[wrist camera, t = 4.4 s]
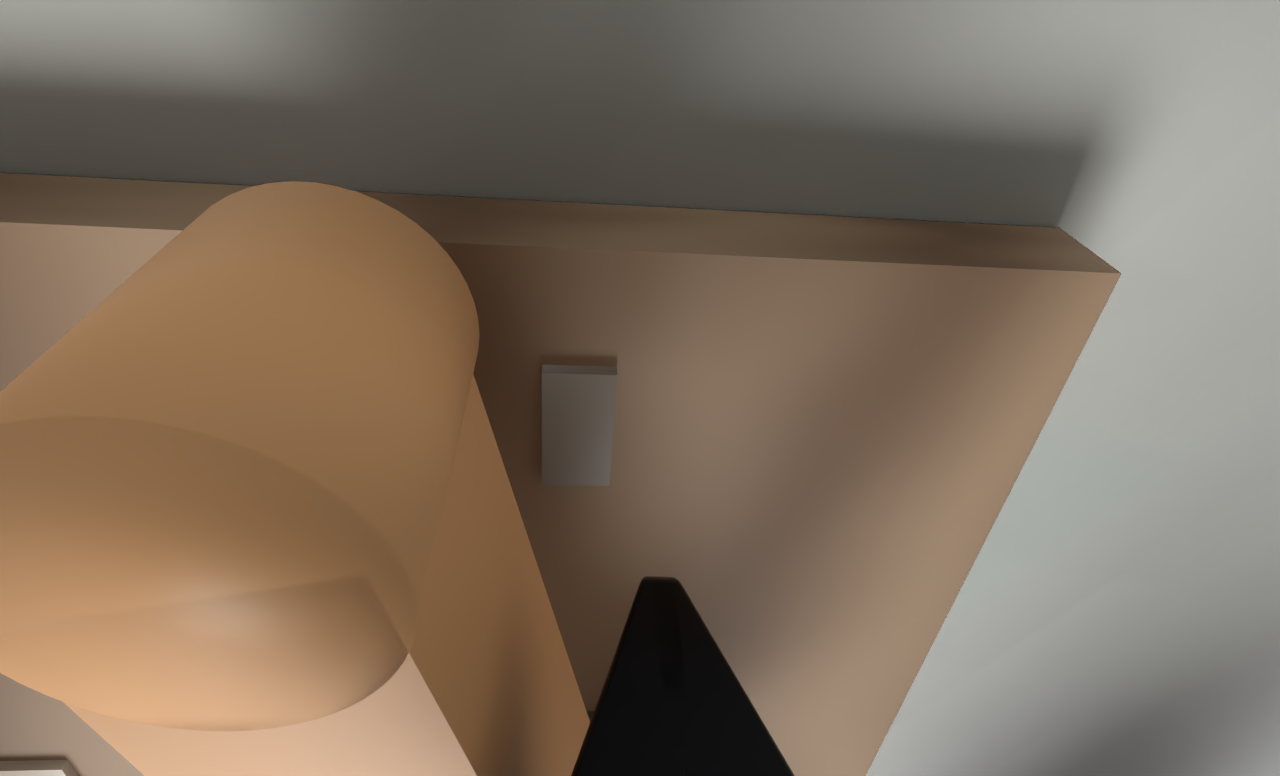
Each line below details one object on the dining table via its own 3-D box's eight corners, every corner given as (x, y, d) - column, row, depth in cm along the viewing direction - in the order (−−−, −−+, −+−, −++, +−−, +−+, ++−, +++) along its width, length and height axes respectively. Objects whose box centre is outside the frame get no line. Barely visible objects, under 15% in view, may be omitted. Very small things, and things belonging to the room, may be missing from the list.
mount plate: (1059, 227, 11) (1183, 319, 8) (804, 810, 21) (830, 920, 19) (-497, 146, 9) (-861, 238, 6) (68, 833, 19) (0, 958, 17)
